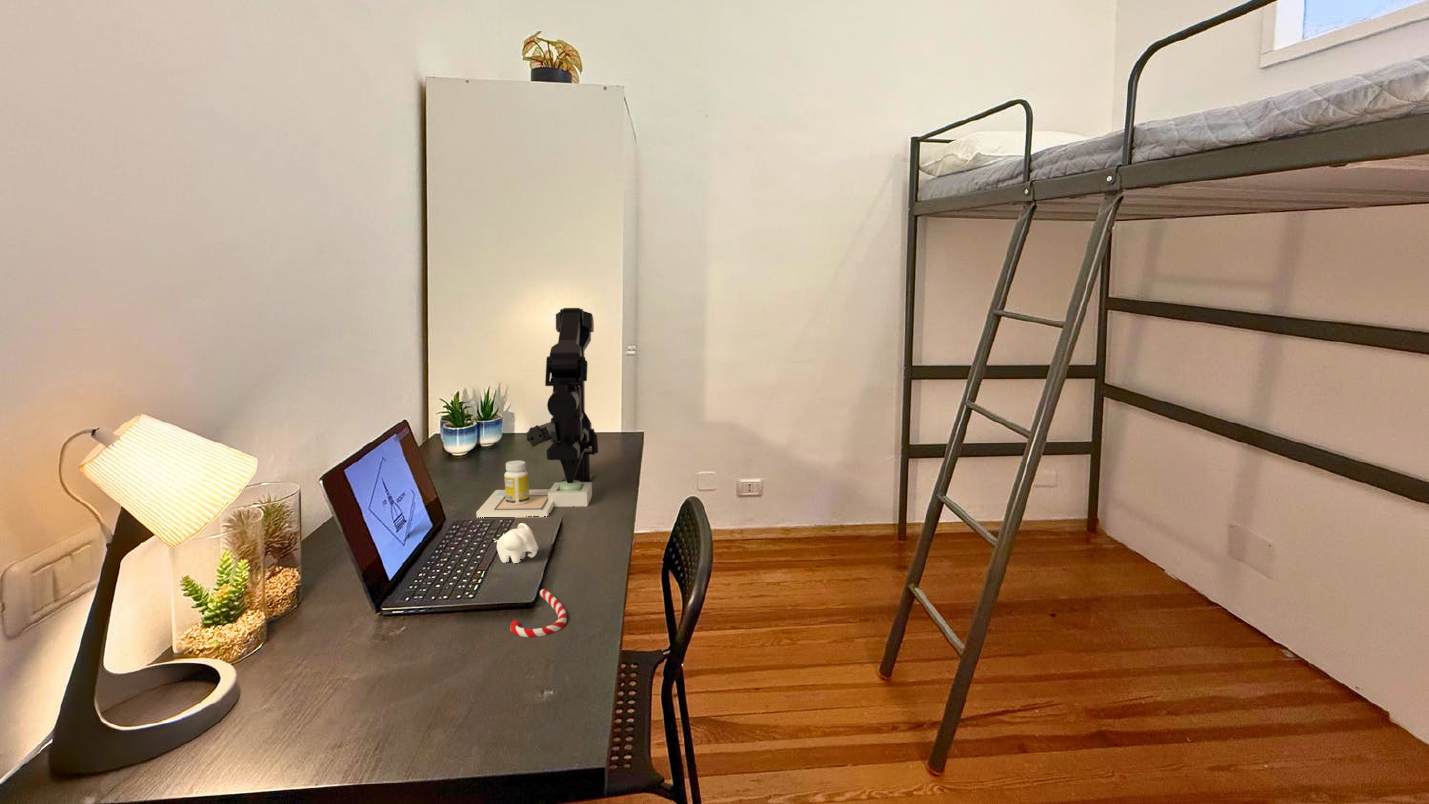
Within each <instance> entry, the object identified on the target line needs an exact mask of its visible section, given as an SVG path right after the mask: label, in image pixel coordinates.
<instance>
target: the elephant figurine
mask: <svg viewBox="0 0 1429 804" xmlns="http://www.w3.org/2000/svg"><path fill="white" fill-rule="evenodd" d="M492 540H494V541H496V550H497V553H498V557H499V559H500V561H501V562H502V563H504V564H506V562H507V563H509V562H510V560H511V562H512V563H513V564H515V563H518V564H520V563H521V560H520V559H523V558H524V557H526V552H528V554H527V557H529V558H534V557H535V556H536V555H537V554H538V553H537V552H538V550H540V548H539V546H538V543H537V542H536V539H535V535H534V533H533V531H532V529H531V528H530V527H529V525H527V524H526V523H525V522H521V523H518V525H517V528H512V529H509V530H508V531H507V532H505V533H504V534H503V535H502V536H500V537H499V539H495V538H494V537H493V539H492ZM509 558H511V559H509ZM524 559H525V558H524ZM524 559H523V560H524ZM519 562H520V563H519Z"/></svg>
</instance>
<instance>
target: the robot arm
mask: <svg viewBox="0 0 1429 804" xmlns="http://www.w3.org/2000/svg"><path fill="white" fill-rule="evenodd" d="M594 322H595V321H594V316H593V314H592V313H591V312H588V311H585V310H584V308H581V307H564V308H560V310H559V312H557V313H555V330H556V332H557V333H559V334H558V335H559V336H558V342H557V343H555V344H554V345H553V346H551V348H550V352H549V356H547V357H546V363H545V381H544V383H545V387H552V394H551V395H550V396H549V398H548V399H547V404H546V405H547V406H546V407H547V410H548V412H549V413H548V414H550V415H551V416H552V417H551V418H550V421H549V422H545V423H544V424H541V425H538V424H536V425H535V426H533V427H529V429H528V431H527V432H526V433H525V435H526V437H527V438H526V441H527V442H529V444H530V447H531V448H534V447H537V446H538V445H540V444H543V443H545V442H547V441H550V443H551V444H550V445H549V447H547V449H546V460H548V461H560V463H561V466H562V470H563V473H564V476H563V478H562V479H561V482H562V481H567V483H573V481H574V480H577V481H580V482H592V481H591V480H592V479H593V476H594V472H591V455H592V456H595V454H598V453H599V441H598V434H597V433H596V431H595V429H594V428H593V427H592V426H593V425H592V422H591V420H590V417H588V415H587V413H586V409H585V407H586V405H585V404H586V400H585V399H586V398H585V397H586V396H585V394H586V393H585V390H586V389H585V386H586V384H585V383H586V382H587V381H588V360H587V359H586V357H585V351H586V349H587V347H589V345H590V343H591V341H592V333H594V329H595V326H594Z"/></svg>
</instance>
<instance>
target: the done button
mask: <svg viewBox="0 0 1429 804" xmlns="http://www.w3.org/2000/svg"><path fill="white" fill-rule="evenodd" d="M559 483H560V491H581V482H580V481H577V480H574V481H573V483H567V481H562V480H561V481H560V482H559Z"/></svg>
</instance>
